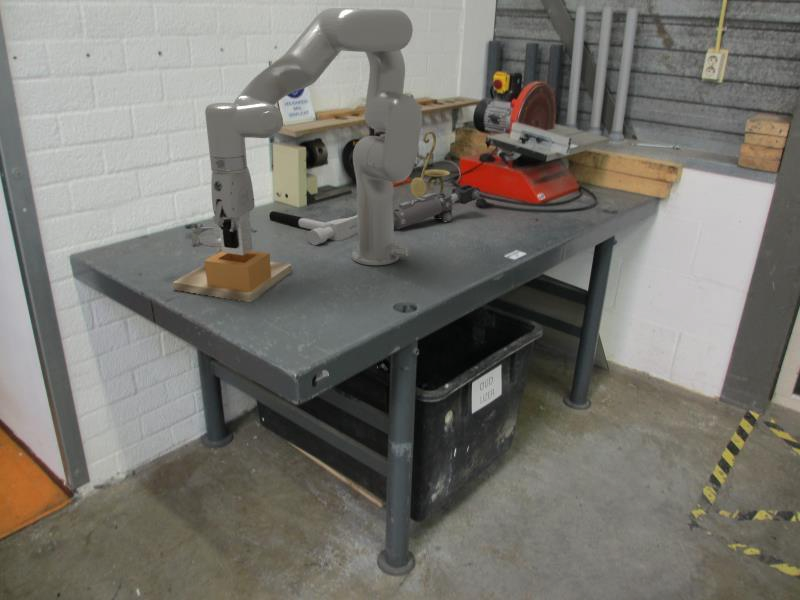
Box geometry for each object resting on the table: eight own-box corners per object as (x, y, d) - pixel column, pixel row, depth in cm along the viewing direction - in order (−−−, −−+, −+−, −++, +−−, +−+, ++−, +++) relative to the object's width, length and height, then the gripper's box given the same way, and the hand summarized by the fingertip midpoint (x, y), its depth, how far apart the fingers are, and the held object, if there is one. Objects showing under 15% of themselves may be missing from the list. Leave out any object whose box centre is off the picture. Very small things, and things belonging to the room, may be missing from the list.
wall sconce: (428, 210, 210) (430, 134, 200) (407, 205, 216) (408, 130, 206) (454, 202, 219) (457, 129, 209) (433, 198, 225) (435, 126, 215)
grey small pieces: (194, 247, 174) (192, 225, 172) (192, 246, 175) (189, 224, 172) (257, 232, 188) (255, 211, 185) (255, 231, 188) (253, 210, 186)
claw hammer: (248, 213, 190) (319, 229, 173) (301, 199, 206) (371, 212, 189) (250, 231, 192) (321, 248, 175) (302, 215, 208) (372, 230, 191)
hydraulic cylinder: (483, 209, 204) (481, 180, 199) (390, 246, 188) (385, 215, 183) (468, 204, 210) (466, 175, 205) (376, 239, 193) (372, 209, 189)
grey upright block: (252, 249, 144) (248, 207, 140) (243, 255, 141) (239, 212, 137) (231, 247, 146) (227, 204, 142) (221, 252, 143) (217, 209, 138)
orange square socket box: (293, 270, 159) (290, 216, 153) (249, 302, 140) (244, 242, 135) (221, 260, 165) (215, 208, 159) (170, 289, 146) (161, 232, 141)
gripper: (222, 172, 127) (231, 258, 135) (264, 157, 142) (269, 235, 149) (190, 169, 129) (200, 254, 137) (234, 154, 144) (241, 231, 151)
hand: (236, 243), depth 143 cm, fingers closed on grey upright block, 3 cm apart
